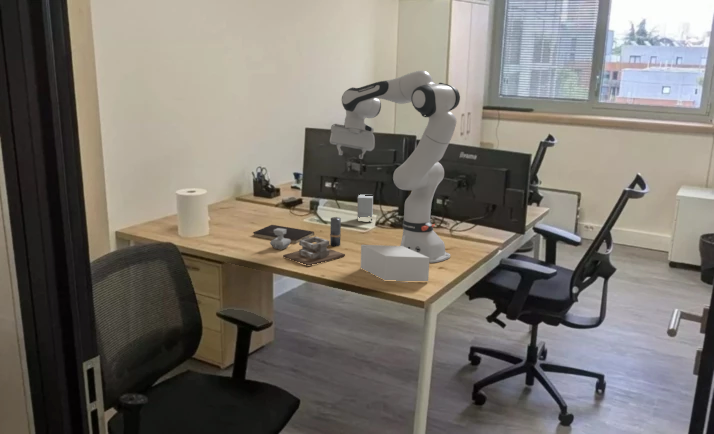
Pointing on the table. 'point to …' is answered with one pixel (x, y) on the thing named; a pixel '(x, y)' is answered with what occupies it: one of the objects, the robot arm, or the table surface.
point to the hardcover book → (290, 234)
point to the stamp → (280, 239)
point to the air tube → (335, 231)
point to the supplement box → (365, 206)
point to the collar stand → (313, 251)
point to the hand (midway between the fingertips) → (350, 156)
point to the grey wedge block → (394, 263)
